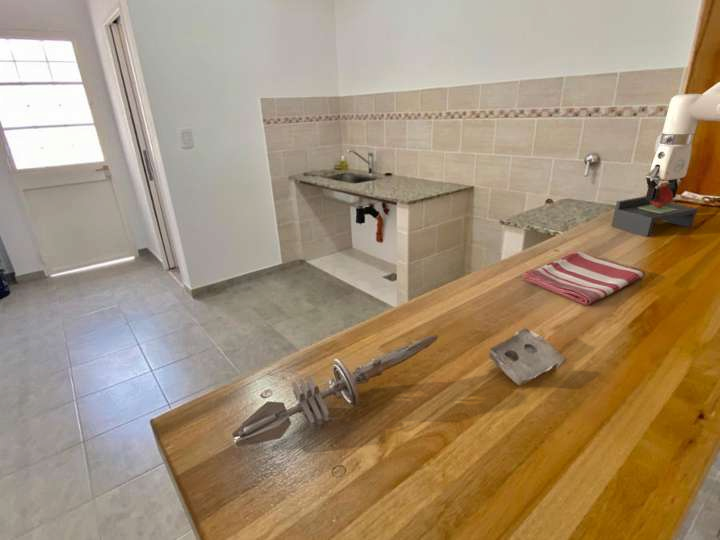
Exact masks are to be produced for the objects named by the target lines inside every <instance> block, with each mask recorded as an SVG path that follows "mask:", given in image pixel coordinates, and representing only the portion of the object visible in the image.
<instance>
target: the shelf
mask: <svg viewBox="0 0 720 540" xmlns="http://www.w3.org/2000/svg"><path fill="white" fill-rule="evenodd" d="M645 198H646V195H644V196H638V197H633V198H628V199H623V200H617V201H616V203H615V206H614V207H615V208H614V211H613V217H612V221H611V225H610V226H611V227H612V228H615V229H619V230H623V231H624V232H625V231H626V232H629V233H632V234H636V235H639V236H642V237H646V238H649V237H652V236H651V235H652V232H653V229H654V224H655V223H656V222H661V221H662V222H665V223H670V224H673V225H678V226H682V227H686V228H691V227H693V224H694V221H695V217H696V214H697V212H698V208H697V207H692V206H687V205H682V204H677V203H674V202H673V203H672V202H671V203H669V204H667V205H665V206H663V207H661V208H656V207H655V206H654V205H652V204H651V203H650V201H648V200H646V199H645Z"/></svg>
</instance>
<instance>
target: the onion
mask: <svg viewBox="0 0 720 540" xmlns="http://www.w3.org/2000/svg"><path fill="white" fill-rule="evenodd" d="M658 189H660V191H659V195H658V198H657V201H656V202H653V201H650V203H651V204H652V205H654V206H655V207H656V208H661V207H663V206H665V205H667V204H669V203H670V202H671V200H672V201H673V199H674V198H673V193H672V191H671V190H670V189H669V188H668V187H667V183H664V184H663V185H661V186H659V188H658ZM672 198H673V199H672ZM671 203H672V202H671Z"/></svg>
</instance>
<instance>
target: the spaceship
mask: <svg viewBox="0 0 720 540" xmlns="http://www.w3.org/2000/svg"><path fill="white" fill-rule="evenodd" d="M438 338H439V336H438V335H437V334H433V335H430V336H429V335H428V336H427V337H424V338H421V339H419V340H416V341H415V342H414V343H413V342H412V343H411V344H408V345H405V346H402V347H399V348H397V349H394V350H392V351H390V352H388V353H386V354H384V355H382V356H380V357H377V358H375V359H374V358H373V359H372V360H370V362H369V363H368V364H366V365H364V366H363V365H359V366H357V367H356V368H354V371H353V372H351V371H350V370H349V369H348V367H347V366H346V365H345V364H344V362H342V360H340V359H339V358H335V359H333V361H332V372H333V376H334V378H330V379H329V380H328V385H329V387H327V388H326V389H323V390H321V389H320V388H319V386H318V385H316V384H315V382H314V381H313V380H312V378H311V376H310V375H307V376H305V379H306V381H307V382H305V381H304V379H303V378H300V379H298V382H299V384H300V386H298V385H297V383H296V382H295V381H293V382H292V383H291V386H292V388H293V389H292V392H293V394H294V398H295V399H296V401H295V403H294V404H292V405H291V406H289V407H287V408H286V405H285V403H284V402H283V401H282V402H281V401H266V402H265V403H263V404H262V405H261V406H260V407H259V408H258V409H257V410H255V411H254V412H253V413H252V414H251V415H250V416H249V417H247V418H246V419H245V420H244V421H242V423H241V425H240V426H238V428H237V429H236V430H234V431H233V432H232V434H231V435H232V438H234V443H235V445H236V447H242V446H247V445H250V446H251V445H257V444H260V443H265V442H271V441H273V440H279V439H282V438H283V436H284V435H285V433H286V432H287V431H288V430H289V427H290V426H291V425H292V421H291V419H290V417H292V416H294V415H296V414H301V415H302V416H303V415H304V416H303V417H304V418H305V420H306V422H307V424H308V426H309V428H310V429H311V430H313V429H315V428H316V426H315V424H314V422H316V423H317V425H318V426H320V425H322V424H323V422H322V420H321V419H322V418H323V420H324V421H325V422H328V421H329V420H330V418H329V416H328V415H330V412H329V410H328V407H327V405H326V403H325V401H324V400H325V399H326V398H328V397H330V396H332V395H333V396H334V397H336V398H337V399H341V398H342V397H343V398H344V399H345V401H346V402H347V403H348V404H349V405H350V406H351V407H353V408H354V409H358V408H359V407H360V404H361V400H360V395H359V390H358V386H357V385H359V384H367V383H369V381H370V379H372V378H375V377H379V376H382V374H383V372H385V371H387V370H389V369H392V368H393V367H395V366H397V365H400V364H401V363H404V362H405V361H407V360H409V359H411V358H412V357H414V356H416V355H417V354H418V353H420V352H422V351H424V350H425V349H428V348H429V347H431V345H432V344H434V343H435V342H436V341H437V340H438ZM281 437H282V438H281Z"/></svg>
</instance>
